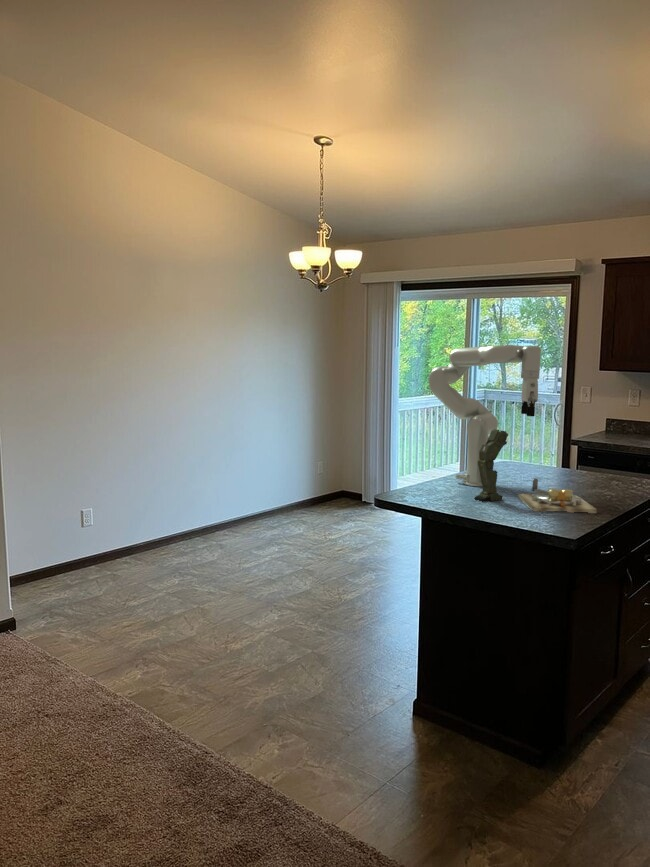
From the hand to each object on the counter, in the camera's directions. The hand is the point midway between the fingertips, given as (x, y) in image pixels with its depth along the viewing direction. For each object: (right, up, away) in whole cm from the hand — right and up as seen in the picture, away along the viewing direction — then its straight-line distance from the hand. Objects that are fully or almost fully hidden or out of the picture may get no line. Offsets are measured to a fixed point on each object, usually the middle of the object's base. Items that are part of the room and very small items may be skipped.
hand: (527, 415), depth 292 cm
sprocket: (+4, -35, -20) cm, 40 cm away
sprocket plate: (+5, -36, -21) cm, 42 cm away
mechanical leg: (-20, -35, -14) cm, 43 cm away
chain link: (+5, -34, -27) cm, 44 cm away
